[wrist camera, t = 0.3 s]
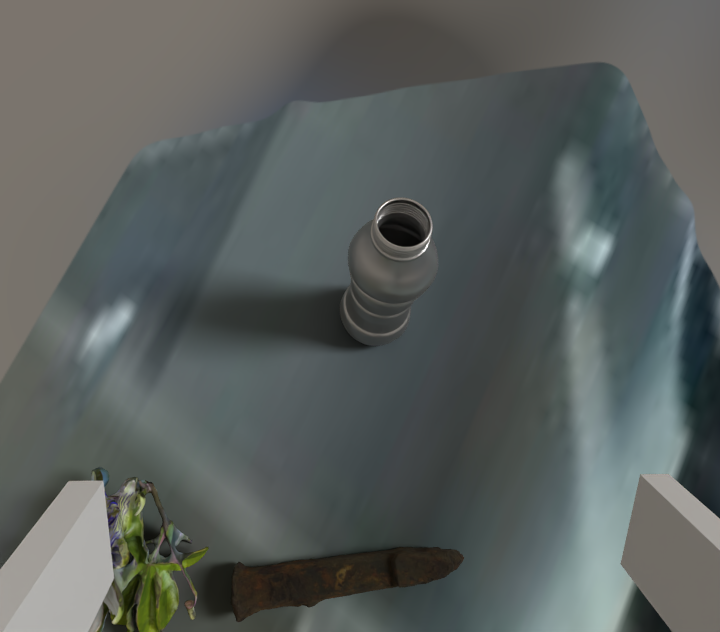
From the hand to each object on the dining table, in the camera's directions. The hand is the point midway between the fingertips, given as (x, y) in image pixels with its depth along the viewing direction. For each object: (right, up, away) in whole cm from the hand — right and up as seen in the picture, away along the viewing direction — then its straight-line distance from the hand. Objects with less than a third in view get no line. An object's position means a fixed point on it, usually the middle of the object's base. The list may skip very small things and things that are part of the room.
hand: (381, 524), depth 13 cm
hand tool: (-2, -16, +32) cm, 36 cm away
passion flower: (-19, -14, +31) cm, 39 cm away
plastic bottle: (+1, +5, +39) cm, 39 cm away
